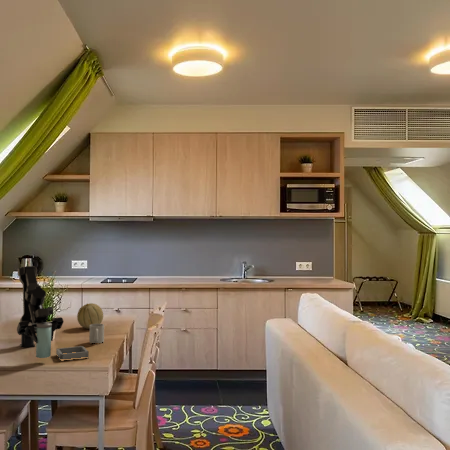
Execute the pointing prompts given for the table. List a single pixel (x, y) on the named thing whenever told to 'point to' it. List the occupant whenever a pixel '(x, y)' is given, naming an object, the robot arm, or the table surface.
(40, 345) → the canister
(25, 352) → the table surface
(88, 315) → the seamed olive ball
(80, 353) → the grey square tray
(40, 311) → the robot arm
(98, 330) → the cup
